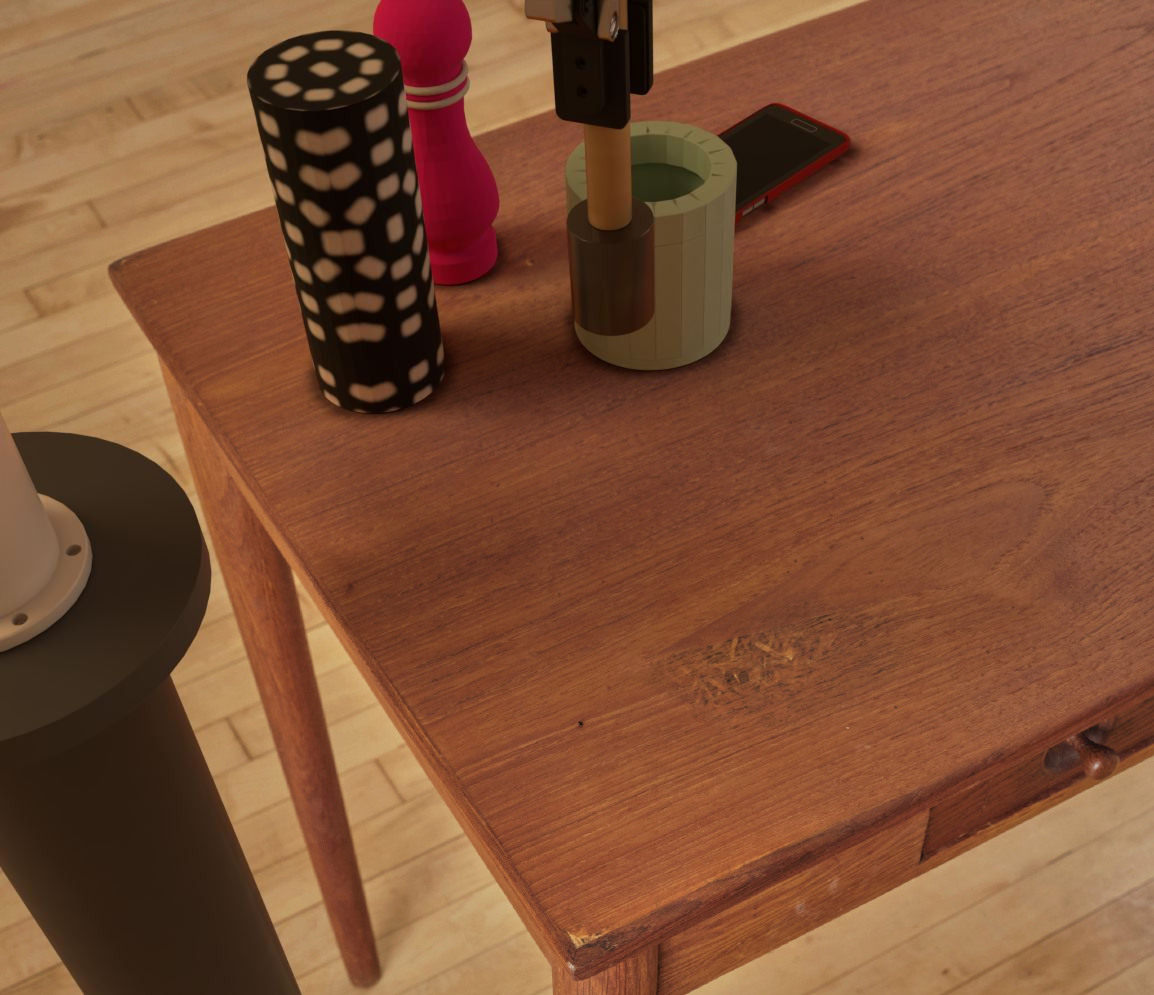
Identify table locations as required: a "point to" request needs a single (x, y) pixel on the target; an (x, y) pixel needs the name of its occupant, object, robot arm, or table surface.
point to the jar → (675, 243)
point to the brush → (611, 238)
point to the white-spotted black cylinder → (351, 215)
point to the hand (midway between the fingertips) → (604, 101)
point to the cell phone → (778, 153)
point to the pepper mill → (443, 134)
